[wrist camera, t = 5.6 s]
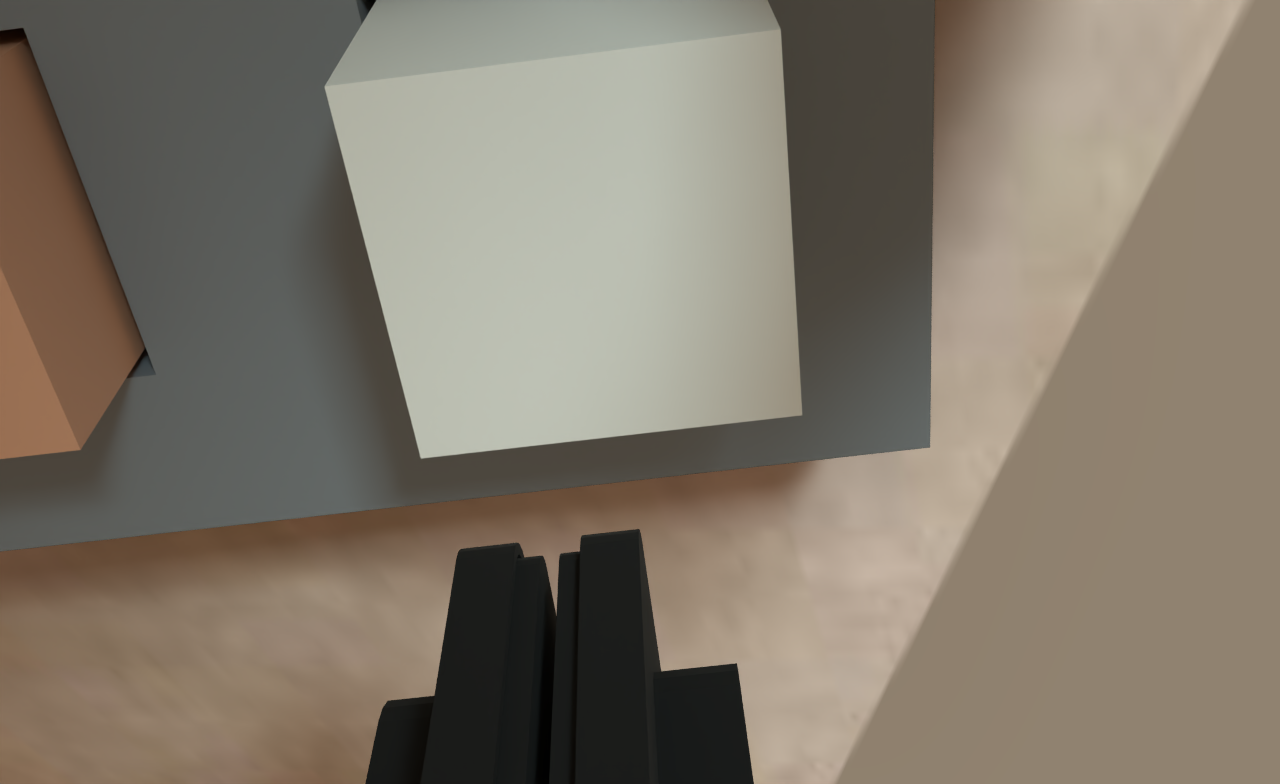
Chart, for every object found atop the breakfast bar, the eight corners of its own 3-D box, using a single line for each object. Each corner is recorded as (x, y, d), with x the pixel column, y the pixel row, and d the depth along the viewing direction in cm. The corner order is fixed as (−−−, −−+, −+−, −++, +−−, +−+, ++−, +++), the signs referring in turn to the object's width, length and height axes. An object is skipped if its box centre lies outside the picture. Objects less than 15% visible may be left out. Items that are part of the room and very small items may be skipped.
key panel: (-440, -186, 22) (-683, -143, 18) (871, -366, 21) (938, -365, 17) (-105, 441, 30) (-223, 576, 26) (881, 327, 29) (930, 447, 25)
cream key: (381, -9, 20) (324, 86, 16) (742, -55, 20) (780, 29, 16) (453, 308, 23) (420, 458, 19) (765, 271, 23) (802, 415, 19)
